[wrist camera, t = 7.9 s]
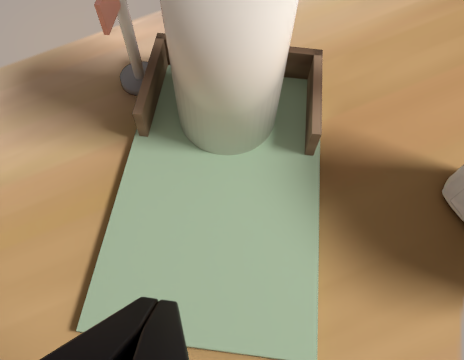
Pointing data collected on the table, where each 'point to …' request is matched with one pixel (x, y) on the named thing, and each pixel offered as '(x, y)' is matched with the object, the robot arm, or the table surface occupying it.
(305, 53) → the cup pocket
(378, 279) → the table surface
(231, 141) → the white rounded block
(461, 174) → the photo printer
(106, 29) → the flag pin
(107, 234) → the green mat
